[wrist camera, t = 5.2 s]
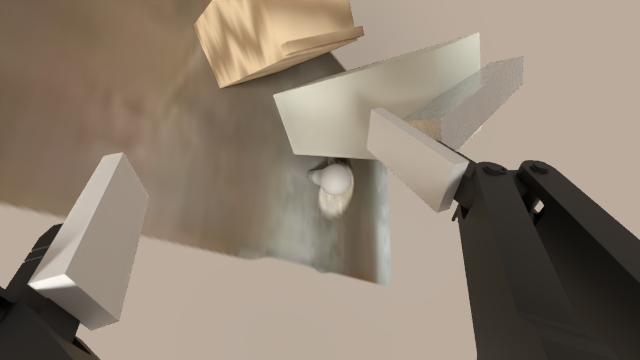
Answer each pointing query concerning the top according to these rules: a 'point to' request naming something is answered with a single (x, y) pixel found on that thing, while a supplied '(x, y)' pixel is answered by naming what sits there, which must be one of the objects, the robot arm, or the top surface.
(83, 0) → the top surface
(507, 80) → the rail
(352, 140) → the unit
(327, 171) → the white rounded knobbed part
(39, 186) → the top surface
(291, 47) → the light brown boxy piece
